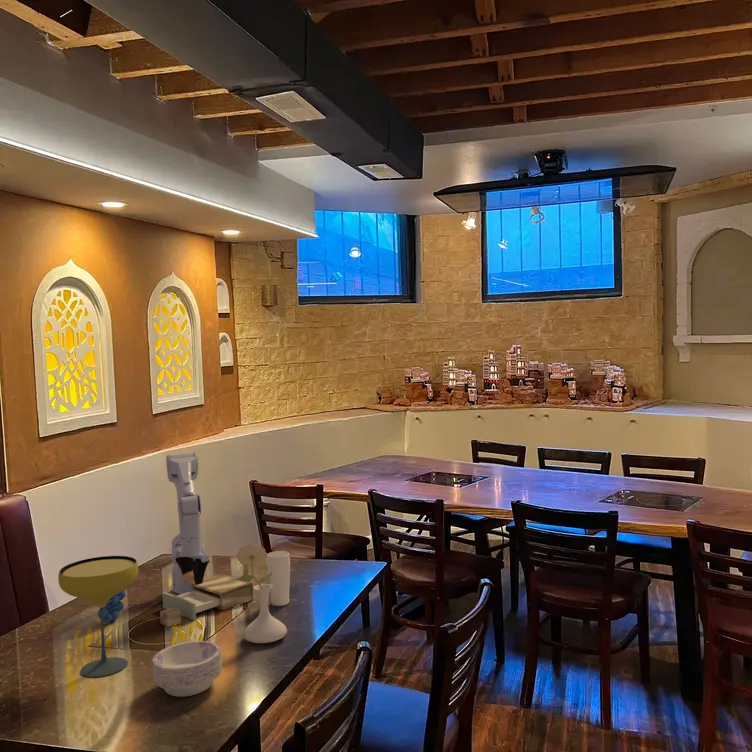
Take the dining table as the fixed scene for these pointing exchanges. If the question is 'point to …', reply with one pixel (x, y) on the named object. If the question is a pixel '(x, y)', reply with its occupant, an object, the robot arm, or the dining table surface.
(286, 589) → the white cylinder
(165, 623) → the block
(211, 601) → the pull-out drawer
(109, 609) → the grapes
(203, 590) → the housing
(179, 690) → the paper bowls
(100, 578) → the cocktail glass
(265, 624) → the flower in vase
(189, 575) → the rounded lump
